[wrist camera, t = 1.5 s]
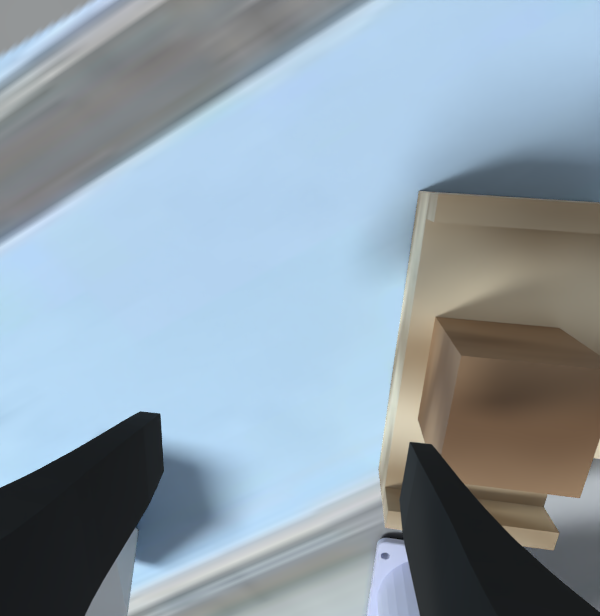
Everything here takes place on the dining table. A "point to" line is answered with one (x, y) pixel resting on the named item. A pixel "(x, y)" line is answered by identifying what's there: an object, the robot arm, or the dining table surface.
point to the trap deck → (489, 313)
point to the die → (116, 584)
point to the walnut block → (512, 405)
